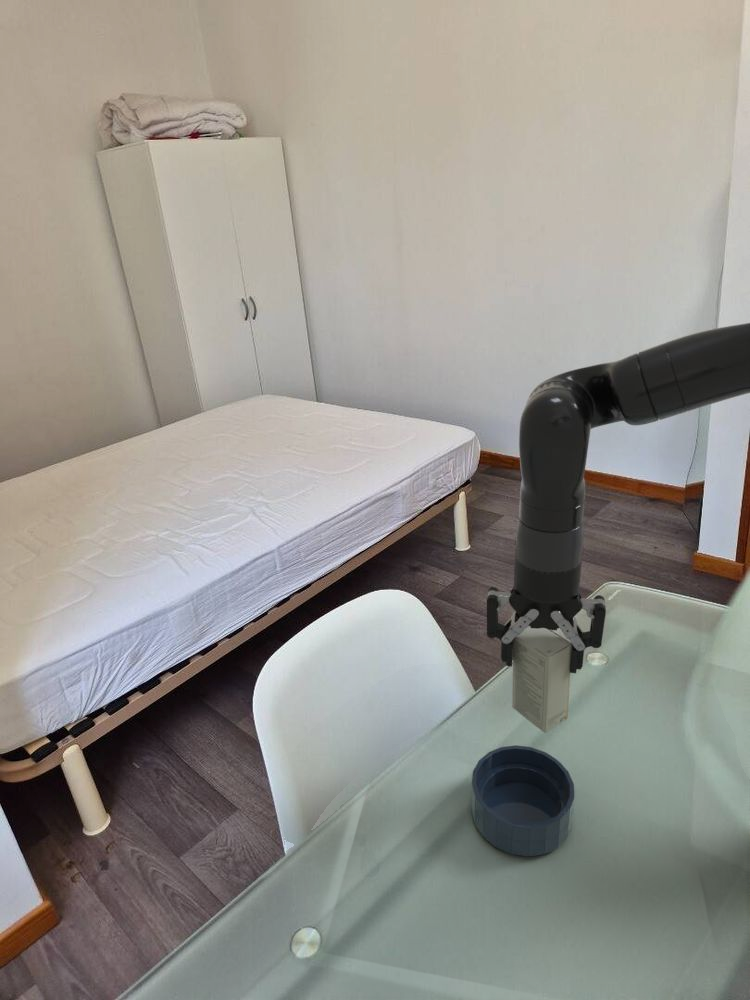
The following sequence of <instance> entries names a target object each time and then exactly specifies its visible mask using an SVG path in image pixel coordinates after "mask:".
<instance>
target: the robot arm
mask: <svg viewBox="0 0 750 1000" xmlns="http://www.w3.org/2000/svg"><path fill="white" fill-rule="evenodd" d="M747 394H750V322H746V323H740V324H734V325H728V326H723V327H718V328H712V329H707V330H703V331H699V332H695V333H691V334H688V335H684V336H681V337H677V338H676V339H672V340H668V341H666V342H664V343H661V344H658V345H655V346H652V347H650V348H647V349H644V350H641V351H639V352H638V353H637V352H636V353H633V354H630V355H628V356H626V357H624V358H622V359H619V360H615V361H610V362H604V363H598V364H593V365H589V366H585V367H581V368H575V369H573V370H568V371H565V372H562V373H559V374H556V375H554V376H551V377H549V378H548V379H545V380H544V381H542V382H540V383H539V384H538V385H537V386H536V387H534V388H533V390H532V391H531V392H530V394H529V396H528V398H527V401H526V404H525V406H524V408H523V411H522V413H521V416H520V420H519V429H518V430H519V431H518V451H519V452H518V453H519V464H520V465H519V466H520V475H521V482H520V488H519V505H518V506H519V507H518V521H517V526H516V530H515V541H514V571H513V572H514V573H513V587H512V588H511V590H510V592H509V591H499V589H498V588H497V587H496V586H491V587H489V588H488V590H487V597H486V636H487V637H488V638H490V639H495V638H496V639H498V640H499V641H500V642H501V645H500V648H501V649H500V659H501V661H502V662H503V663H506V664H505V665H506V666H505V667H510V668H511V667H512V668H513V639H514V638H515V637H516V636H517V635H518V634H521V633H522V632H523V631H524V630H525V628H526V627H527V626H531V628H536V629H538V628H546V629H549V630H552V631H558V629H560V631H561V632H562V634H563V636H565V639H566V640H568V641H569V642H571V643H572V652H571V668H570V674H577V670H582V668H583V666H584V665H583V664H584V654H585V650H586V649H587V648H593V649H599V648H601V647H602V642H603V635H604V628H605V621H606V614H607V609H606V601H605V597H604V596H603V595H600V594H599V595H596V596H594V597H593V598H584V597H582V595H581V594H580V585H581V573H582V564H583V563H582V561H583V551H584V542H585V541H584V539H585V538H584V517H585V516H584V514H585V502H586V481H585V473H586V465H587V457H588V451H589V444H590V436H591V430H592V429H595V428H598V427H603V426H606V425H610V424H615V423H619V422H624V423H626V424H628V425H630V426H643V425H647V424H652V423H654V422H655V423H656V422H659V421H661V420H665V419H669V418H671V417H674V416H678V415H680V414H681V415H682V414H684V413H687V412H690V411H691V412H692V411H695V410H697V409H700V408H703V407H706V406H709V405H713V404H716V403H719V402H723V401H727V400H730V399H733V398H736V397H740V396H744V395H747ZM506 604H509V605H510V606H511V607H512V609H513V610H514V611H513V613H511V616H510V618H509V619H508V620H507V621H506V622H505V624H503V623H500V622H499V612H500V611H502V610H503V609H504V608H505V605H506ZM582 610H584V611H585V612H586V616H587V617H588V618H590V627H589V630H588V631H583V629H582V628H581V626H580V624H579V623H578V622H577V619H576V617H575V616H577V615H578V614H579V613H580V612H581V611H582Z"/></svg>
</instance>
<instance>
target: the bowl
mask: <svg viewBox="0 0 750 1000" xmlns="http://www.w3.org/2000/svg"><path fill="white" fill-rule="evenodd" d="M470 801H471V807H470V808H471V809H470V811H471V815H472V819H473V822H474V825H475V826H476V828H477V830H478V831H479V833H480V834H481V836H482V837H483V838H484V839H485V840H487V841H488V842H489V843H490V844H491V845H492V846H494V847H495V848H497V849H499V850H501V851H504V852H506V853H507V854H511V855H516V856H523V857H534V856H542V855H546V854H548V853H550V852H553V851H554V850H557V849H558V848H559V847H560V846H561V845H562V844H563V843H564V842H565V841H566V840H567V838H568V837H569V834H570V831H571V828H572V825H573V819H574V818H573V816H574V807H575V784H574V781H573V779H572V777H571V774H570V772H569V770H568V769H567V768H566V767H565V766H564V765H563V763H562V762H561V761H560V760H558V759H557V758H555V757H554V756H552V755H551V754H550V753H548V752H547V751H543V750H540V749H538V748H535V747H532V746H526V745H525V746H523V745H508V746H507V745H506V746H500V747H498V748H495V749H493V750H491V751H488V752H487V753H486V754H485V755H483V756H482V757H481V758H480V759H478V761H477V764H476V765H475V767H474V768H473V771H472V778H471V799H470Z"/></svg>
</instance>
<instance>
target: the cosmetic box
mask: <svg viewBox="0 0 750 1000" xmlns="http://www.w3.org/2000/svg"><path fill="white" fill-rule="evenodd" d="M571 652H572V643H571V641H570V640H569V639H567V638H566V637H565V638H564V637H563V636H562V635H560V634H558V633H556V632H555V631H554V630H549V629H546V628H538V629H536V628H531V626H529V625H528V626H527V627H526V628H525V630H524V631H523V632H522V633H521V634H518V635H517V636H516V637H515V638H514V639H513V658H512V709H513V710H515V711H516V712H517V713H518V714H519V715H520V716H522V717H523V718H525V719H526V720H527V721H528V722H529V723H531V724H532V725H533V726H535V728H537V729H539V730H540V731H541V732H543V733H544V734H547V733H548V732H550V731H552V730H554V729H555V728H557V727H558V726H560V725H561V724H562V723H564V722H566V721H567V720H568V718H569V706H570V705H569V703H570V687H571V673H570V668H571Z"/></svg>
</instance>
